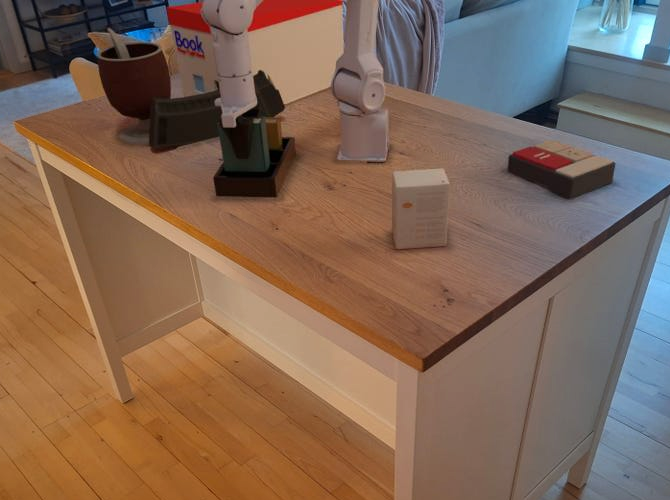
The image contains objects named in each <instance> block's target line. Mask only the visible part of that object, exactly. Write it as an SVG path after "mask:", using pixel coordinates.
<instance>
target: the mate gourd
mask: <svg viewBox="0 0 670 500" xmlns="http://www.w3.org/2000/svg"><path fill="white" fill-rule="evenodd" d="M106 31H107V32H108V33H109V36H110V39H111V41H112V44H113V45H110V46H108V47H105V48H102V49H101V50H99V51H98V52H97V53H96V56H97V68H98V75H99V79H100V83H101V86H102V89H103V92H104V94H105V96H106V98H107V101H108V103H109V105H110V106H111V107H112V108H113V109H114V110H116V112H118V113H119V114H120V115H121V116H123V117H126V118H127V117H128V118H132V119H137V120H138V122H137V123H134V124H132V125H129V126H127V127H125V128H124V129H122V130H121V131H120V132H119V139H120V141H121V142H122V143H124V144H126V145H130V146H147V145H149V127H150V109H151V105H152V98H153V97H156V98H159V99H172V98H171V97H172V83H171V81H172V80H171V74H170V68H169V65H168V62H167V58H166V56H165V54H164V51H163V48H162V46H161V44H159V43H156V42H150V41H149V42H148V41H134V42H133V41H132V42H125V43H124V40H123V39H122V38H121V37H120V36H119V34H117V33H116V32H115V31H114V30H113V29H112V28H111V27H108V28H107V29H106Z"/></svg>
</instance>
